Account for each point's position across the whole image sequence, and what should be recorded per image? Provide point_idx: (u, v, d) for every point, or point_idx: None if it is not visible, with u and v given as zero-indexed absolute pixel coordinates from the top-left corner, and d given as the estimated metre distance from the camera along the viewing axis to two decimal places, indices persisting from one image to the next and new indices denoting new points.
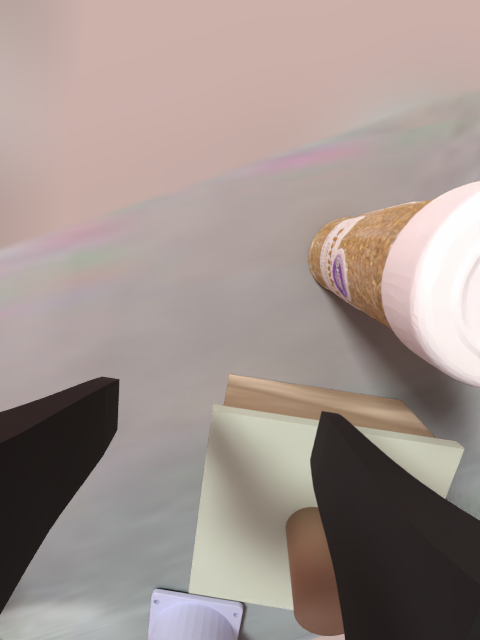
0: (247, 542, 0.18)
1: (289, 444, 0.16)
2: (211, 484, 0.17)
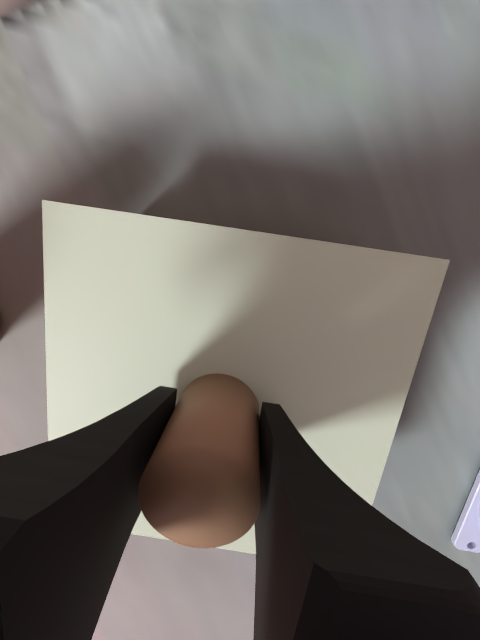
0: None
1: None
2: None
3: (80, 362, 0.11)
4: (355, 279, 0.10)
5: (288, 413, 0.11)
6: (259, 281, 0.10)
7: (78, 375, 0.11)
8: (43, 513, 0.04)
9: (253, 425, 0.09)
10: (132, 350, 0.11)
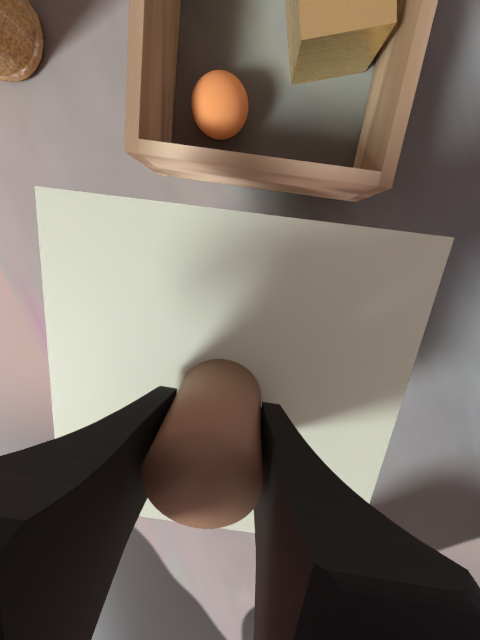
0: None
1: None
2: None
3: (82, 350, 0.11)
4: (356, 260, 0.10)
5: (290, 397, 0.11)
6: (258, 264, 0.10)
7: (80, 363, 0.11)
8: (43, 513, 0.04)
9: (255, 409, 0.09)
10: (132, 337, 0.11)
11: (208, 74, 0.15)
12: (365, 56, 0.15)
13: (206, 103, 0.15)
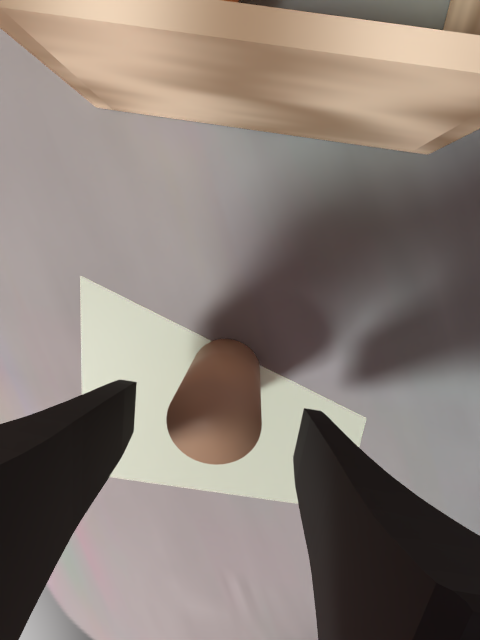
0: None
1: None
2: (174, 477, 0.15)
3: (110, 332, 0.13)
4: None
5: None
6: None
7: (108, 343, 0.13)
8: None
9: (255, 374, 0.11)
10: (153, 320, 0.13)
11: None
12: None
13: None
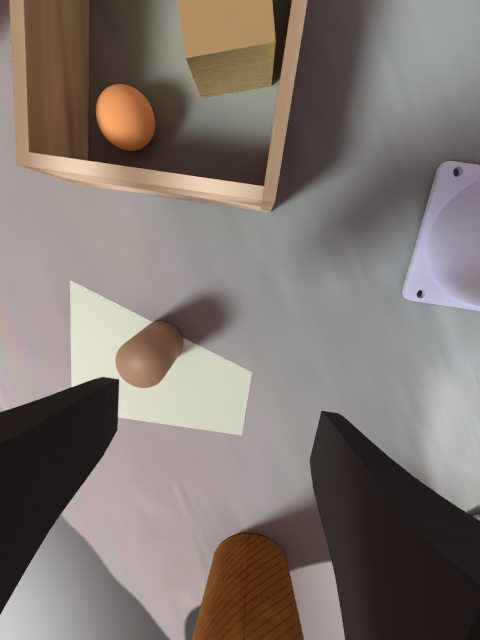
0: (182, 389, 0.22)
1: (89, 361, 0.22)
2: (131, 413, 0.23)
3: (88, 316, 0.21)
4: None
5: None
6: None
7: (87, 323, 0.21)
8: None
9: (172, 340, 0.19)
10: (115, 309, 0.21)
11: (107, 88, 0.15)
12: (262, 72, 0.15)
13: (105, 116, 0.15)
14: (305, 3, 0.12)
